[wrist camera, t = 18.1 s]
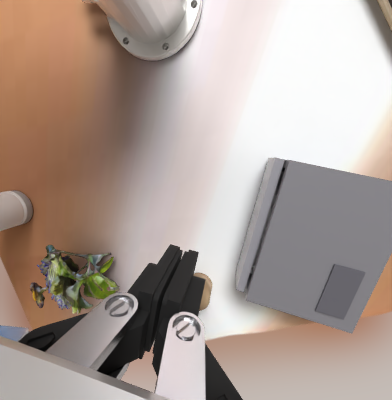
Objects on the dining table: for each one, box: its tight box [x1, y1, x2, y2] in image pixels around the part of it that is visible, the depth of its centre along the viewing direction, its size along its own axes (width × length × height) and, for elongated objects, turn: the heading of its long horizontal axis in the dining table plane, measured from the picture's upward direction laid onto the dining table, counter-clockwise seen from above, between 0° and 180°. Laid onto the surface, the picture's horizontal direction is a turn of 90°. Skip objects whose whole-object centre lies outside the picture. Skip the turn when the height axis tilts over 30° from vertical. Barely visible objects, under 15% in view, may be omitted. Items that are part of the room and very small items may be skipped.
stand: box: [193, 273, 212, 311], centre depth 31 cm, size 4×4×4 cm
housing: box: [245, 160, 392, 333], centre depth 24 cm, size 12×17×7 cm
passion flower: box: [30, 245, 119, 314], centre depth 32 cm, size 11×11×12 cm
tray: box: [236, 158, 285, 292], centre depth 25 cm, size 12×17×5 cm
